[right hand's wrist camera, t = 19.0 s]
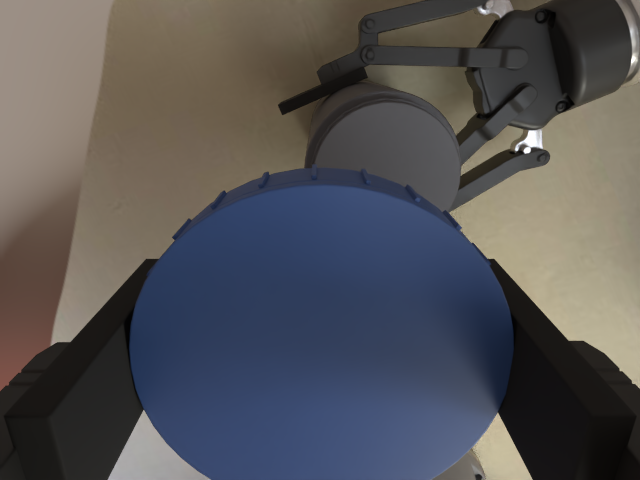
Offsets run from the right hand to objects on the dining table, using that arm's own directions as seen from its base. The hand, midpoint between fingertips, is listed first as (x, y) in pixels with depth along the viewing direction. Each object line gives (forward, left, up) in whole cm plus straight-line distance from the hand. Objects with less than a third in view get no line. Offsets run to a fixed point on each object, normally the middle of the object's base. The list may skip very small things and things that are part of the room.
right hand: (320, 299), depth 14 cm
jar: (-3, -2, -28) cm, 29 cm away
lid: (0, 0, +3) cm, 3 cm away
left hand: (+1, +1, -22) cm, 22 cm away
